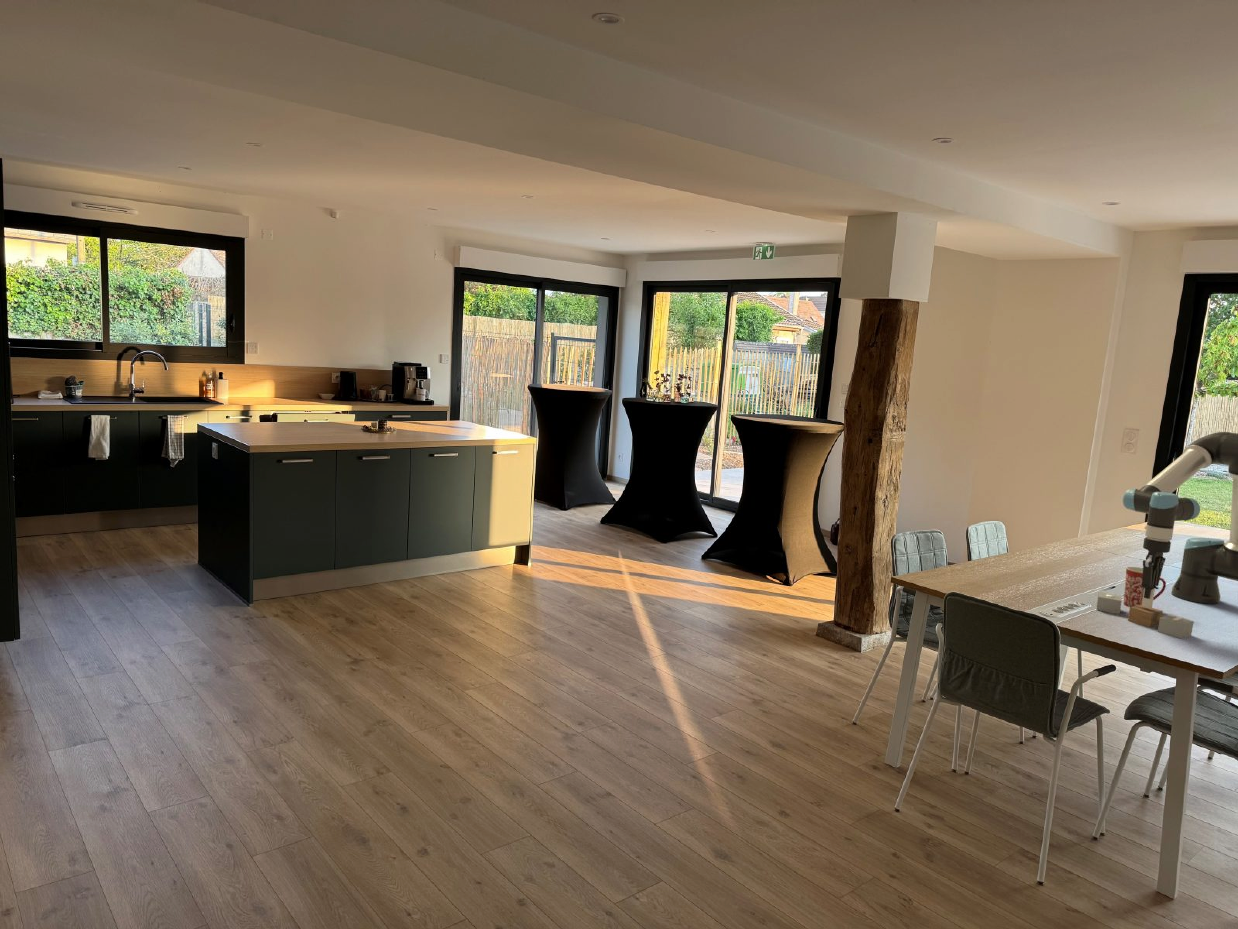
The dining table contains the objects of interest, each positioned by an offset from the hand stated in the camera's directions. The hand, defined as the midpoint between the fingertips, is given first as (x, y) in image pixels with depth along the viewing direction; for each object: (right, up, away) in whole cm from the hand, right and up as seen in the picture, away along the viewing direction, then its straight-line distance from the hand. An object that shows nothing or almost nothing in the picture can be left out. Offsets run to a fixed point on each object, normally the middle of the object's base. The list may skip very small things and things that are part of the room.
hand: (1146, 607), depth 277 cm
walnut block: (0, -6, +1) cm, 6 cm away
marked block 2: (+3, -7, -9) cm, 12 cm away
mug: (+10, -3, +19) cm, 21 cm away
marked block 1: (-5, -3, +13) cm, 15 cm away
